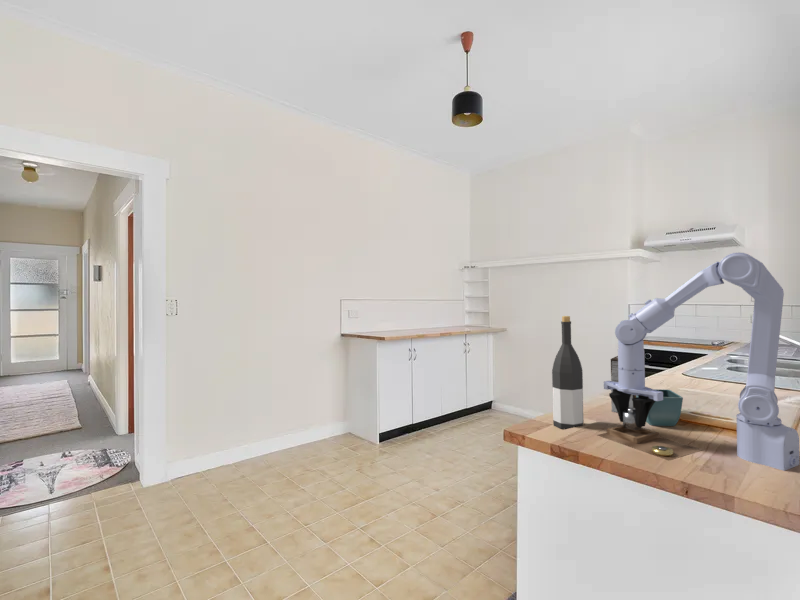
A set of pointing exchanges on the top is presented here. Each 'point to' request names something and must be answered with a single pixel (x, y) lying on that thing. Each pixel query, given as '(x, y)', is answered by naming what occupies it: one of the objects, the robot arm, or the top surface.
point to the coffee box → (615, 379)
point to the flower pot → (665, 409)
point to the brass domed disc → (662, 451)
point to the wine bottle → (567, 383)
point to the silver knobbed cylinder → (630, 419)
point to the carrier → (647, 441)
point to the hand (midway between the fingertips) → (632, 423)
